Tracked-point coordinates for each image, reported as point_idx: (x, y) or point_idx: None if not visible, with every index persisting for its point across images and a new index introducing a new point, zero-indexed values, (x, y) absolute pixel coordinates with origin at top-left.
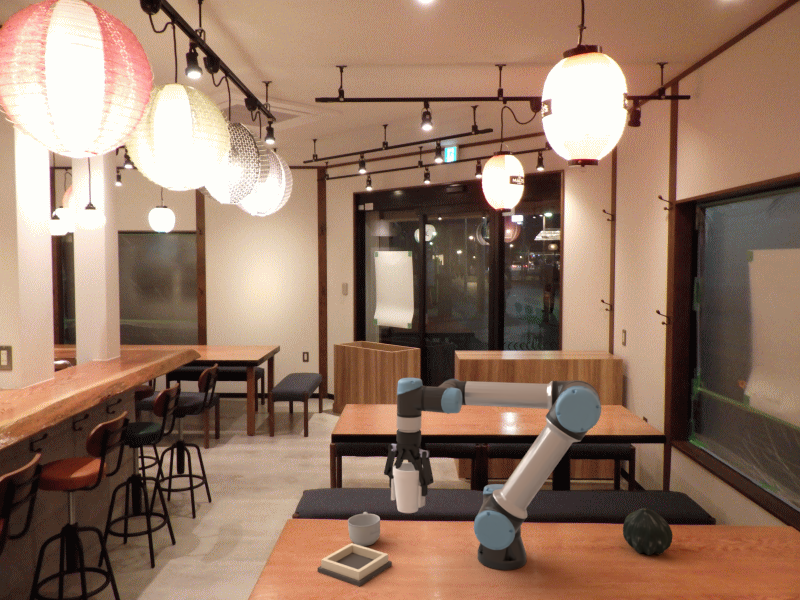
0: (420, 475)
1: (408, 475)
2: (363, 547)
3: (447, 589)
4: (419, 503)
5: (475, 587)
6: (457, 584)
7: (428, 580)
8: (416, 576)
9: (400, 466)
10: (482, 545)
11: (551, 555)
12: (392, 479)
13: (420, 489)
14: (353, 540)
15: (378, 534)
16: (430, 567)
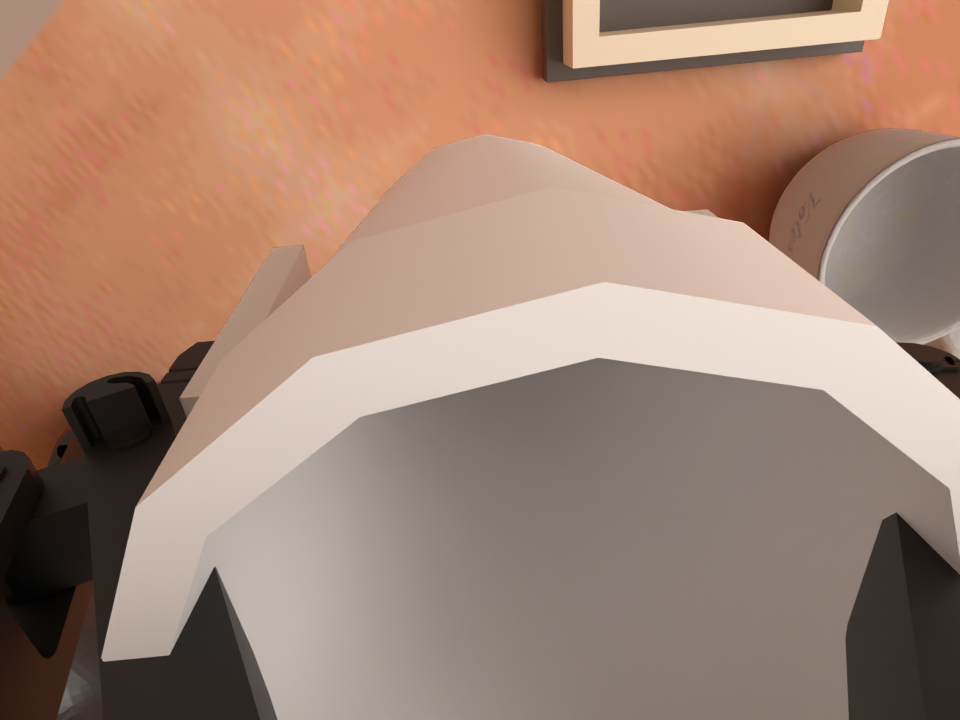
0: (100, 561)
1: (261, 350)
2: (770, 36)
3: (99, 51)
4: (275, 266)
5: (26, 178)
6: (113, 142)
7: (257, 69)
8: (342, 63)
9: (846, 648)
10: None
11: None
12: None
13: (203, 365)
14: (893, 128)
15: None
16: (361, 206)
